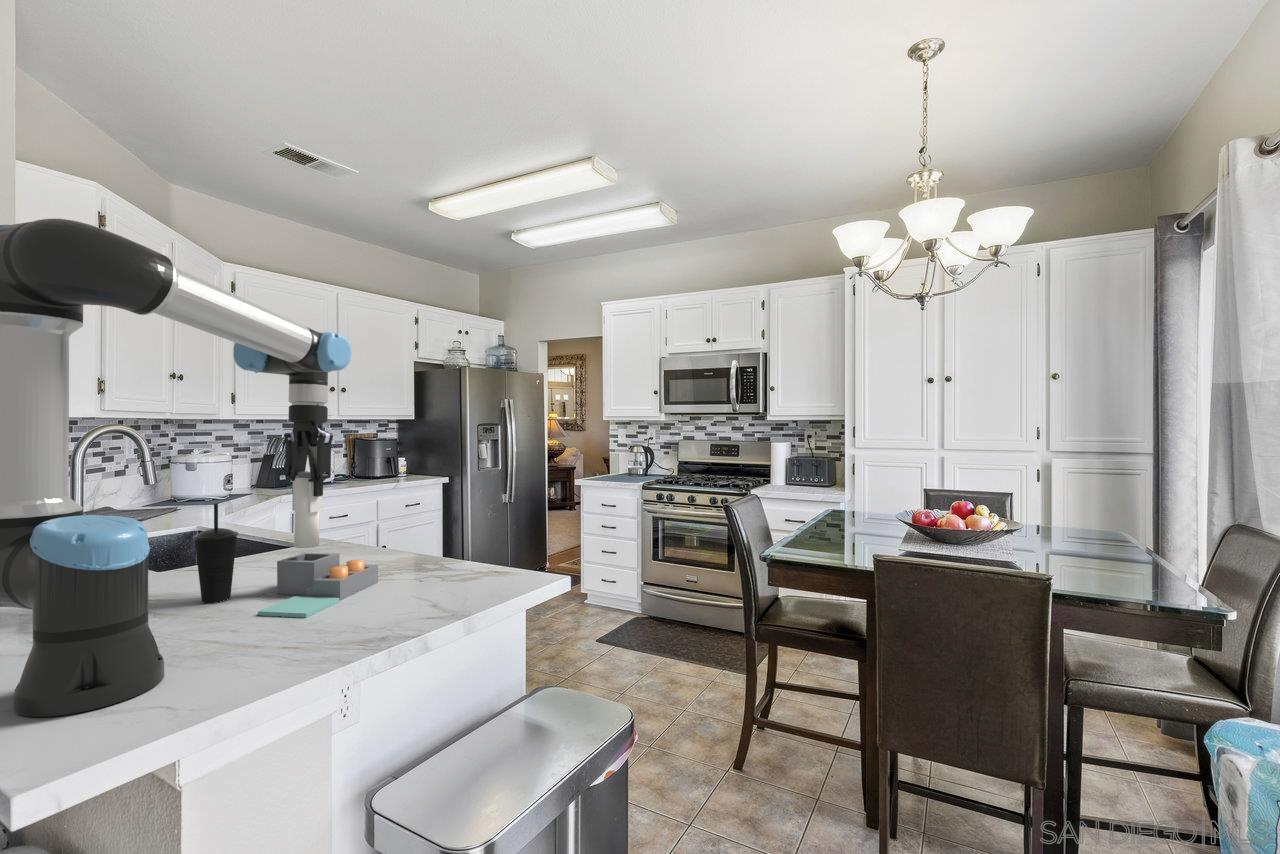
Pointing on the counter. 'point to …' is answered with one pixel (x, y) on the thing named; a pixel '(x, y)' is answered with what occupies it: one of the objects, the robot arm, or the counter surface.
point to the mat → (299, 606)
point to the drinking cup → (215, 561)
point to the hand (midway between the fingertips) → (307, 510)
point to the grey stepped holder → (321, 576)
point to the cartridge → (304, 515)
